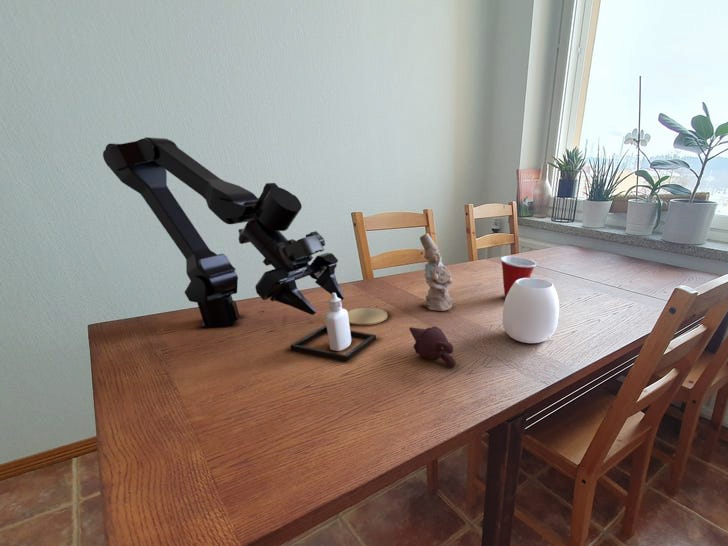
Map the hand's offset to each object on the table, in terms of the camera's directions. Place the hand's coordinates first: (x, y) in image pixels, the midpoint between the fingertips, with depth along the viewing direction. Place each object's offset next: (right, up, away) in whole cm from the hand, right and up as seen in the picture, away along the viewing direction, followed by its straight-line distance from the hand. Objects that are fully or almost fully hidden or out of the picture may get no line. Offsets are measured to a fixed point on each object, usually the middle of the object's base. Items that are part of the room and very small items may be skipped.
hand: (329, 306), depth 78 cm
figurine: (+19, +4, +28) cm, 35 cm away
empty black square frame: (0, -8, +4) cm, 9 cm away
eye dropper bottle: (+1, -8, +4) cm, 9 cm away
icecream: (+21, -11, +2) cm, 24 cm away
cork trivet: (+2, 0, +19) cm, 19 cm away
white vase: (+43, -6, +13) cm, 45 cm away
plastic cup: (+42, +8, +38) cm, 58 cm away
